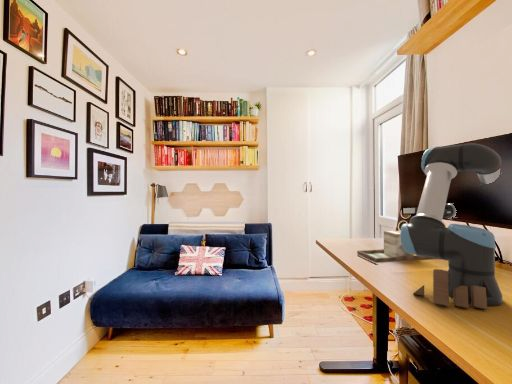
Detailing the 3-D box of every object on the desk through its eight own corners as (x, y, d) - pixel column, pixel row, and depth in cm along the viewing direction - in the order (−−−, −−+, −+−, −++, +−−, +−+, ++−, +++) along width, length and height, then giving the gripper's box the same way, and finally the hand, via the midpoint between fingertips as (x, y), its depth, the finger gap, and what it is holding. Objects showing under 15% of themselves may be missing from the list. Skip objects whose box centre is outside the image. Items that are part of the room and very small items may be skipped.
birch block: (396, 258, 120) (396, 234, 120) (383, 253, 129) (383, 231, 128) (413, 257, 121) (413, 233, 121) (400, 252, 130) (400, 230, 130)
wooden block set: (482, 315, 74) (480, 280, 77) (492, 315, 67) (489, 277, 70) (412, 299, 83) (413, 268, 86) (414, 298, 76) (415, 265, 79)
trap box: (375, 264, 115) (375, 258, 115) (357, 256, 129) (357, 250, 129) (453, 259, 122) (453, 253, 122) (427, 252, 137) (427, 246, 137)
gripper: (468, 220, 119) (429, 221, 115) (429, 215, 141) (395, 216, 137) (468, 205, 119) (429, 206, 115) (430, 202, 140) (395, 203, 137)
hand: (411, 211), depth 126 cm, fingers open, 9 cm apart
